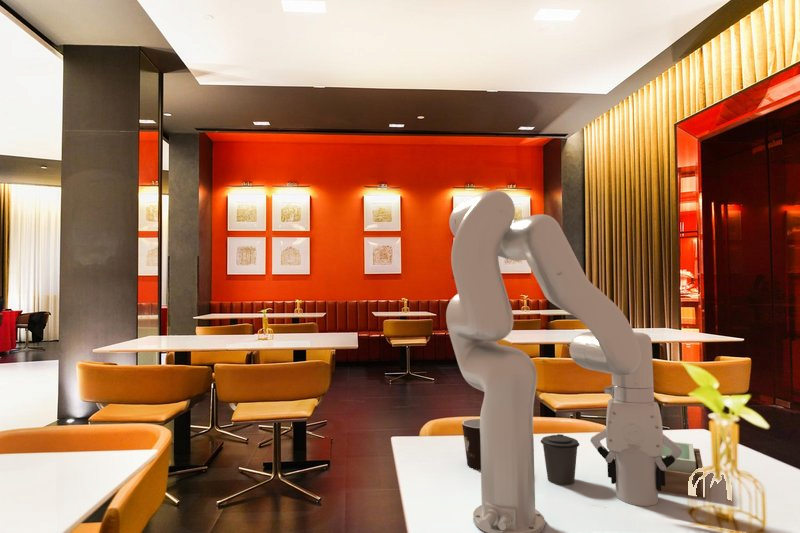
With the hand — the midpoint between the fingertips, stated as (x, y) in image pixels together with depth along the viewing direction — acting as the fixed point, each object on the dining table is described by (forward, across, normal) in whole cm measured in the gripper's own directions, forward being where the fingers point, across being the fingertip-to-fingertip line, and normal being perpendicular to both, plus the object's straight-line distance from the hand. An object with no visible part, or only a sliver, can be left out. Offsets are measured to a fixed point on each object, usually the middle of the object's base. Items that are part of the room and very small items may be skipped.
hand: (636, 484), depth 97 cm
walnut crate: (+3, +4, +15) cm, 16 cm away
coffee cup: (+4, -15, +3) cm, 16 cm away
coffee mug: (+4, -34, +5) cm, 35 cm away
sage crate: (+3, +4, +15) cm, 16 cm away
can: (+4, 0, 0) cm, 4 cm away
